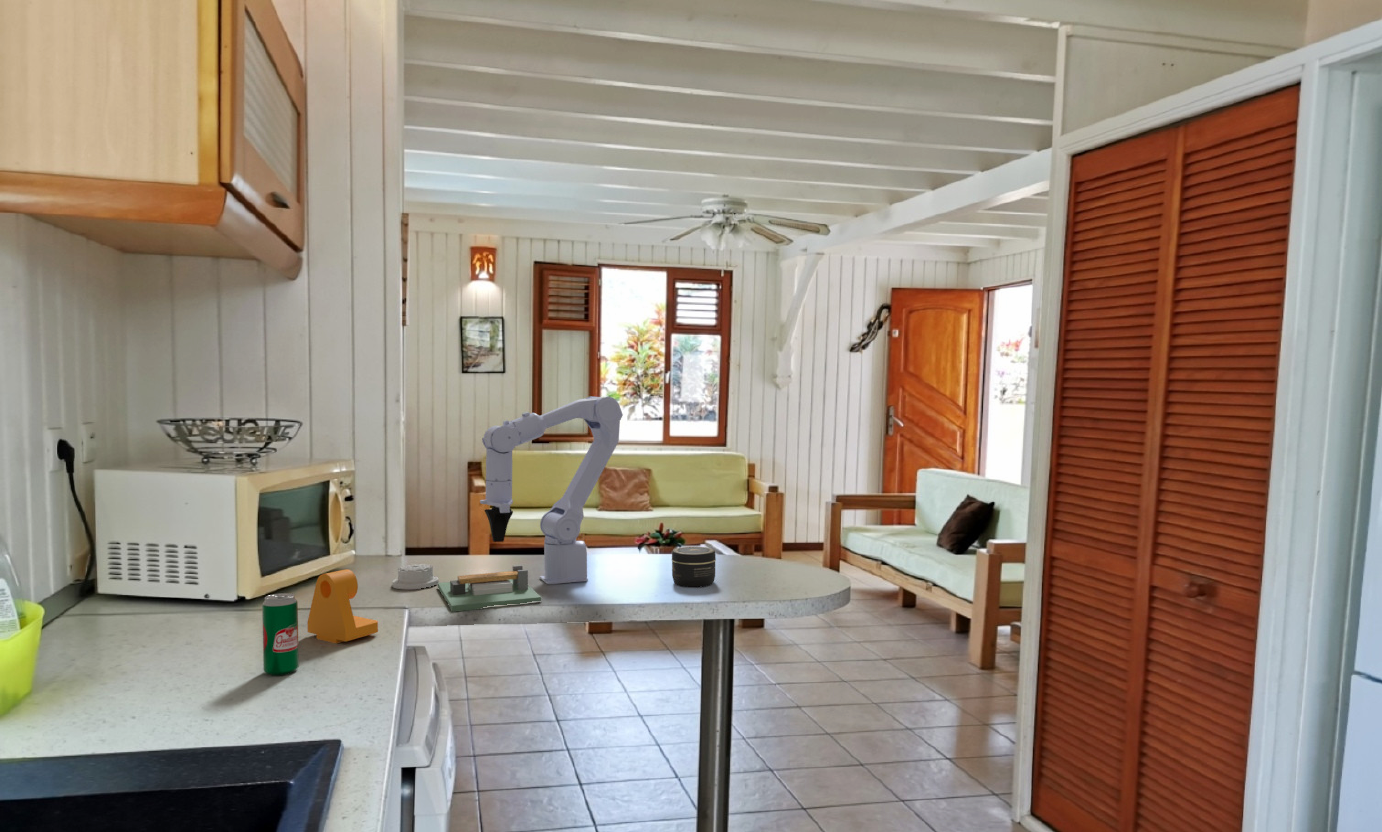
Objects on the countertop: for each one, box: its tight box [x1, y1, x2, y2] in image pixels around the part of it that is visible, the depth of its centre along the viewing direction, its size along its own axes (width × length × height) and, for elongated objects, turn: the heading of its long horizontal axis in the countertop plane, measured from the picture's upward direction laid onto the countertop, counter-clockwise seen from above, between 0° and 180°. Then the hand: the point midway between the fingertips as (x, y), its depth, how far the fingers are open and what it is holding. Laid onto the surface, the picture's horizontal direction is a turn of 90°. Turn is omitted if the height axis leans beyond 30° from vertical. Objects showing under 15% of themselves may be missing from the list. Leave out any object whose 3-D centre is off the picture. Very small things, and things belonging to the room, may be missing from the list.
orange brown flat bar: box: [457, 570, 518, 584], centre depth 191 cm, size 14×4×1 cm, turn 113°
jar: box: [671, 546, 717, 589], centre depth 202 cm, size 10×10×8 cm
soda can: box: [261, 592, 300, 677], centre depth 140 cm, size 5×5×12 cm
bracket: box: [306, 568, 379, 644], centre depth 160 cm, size 11×7×12 cm, turn 58°
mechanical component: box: [391, 563, 440, 591], centre depth 201 cm, size 10×4×10 cm
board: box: [437, 564, 542, 613], centre depth 191 cm, size 18×22×5 cm
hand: (498, 541), depth 197 cm, fingers closed
